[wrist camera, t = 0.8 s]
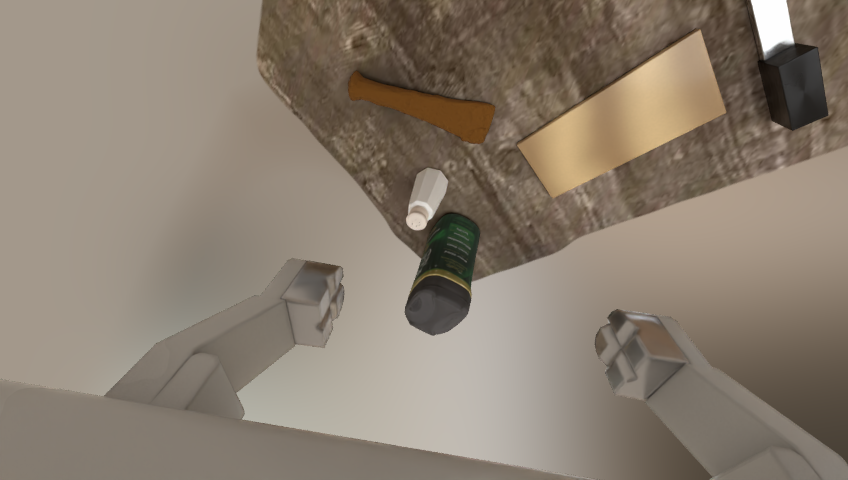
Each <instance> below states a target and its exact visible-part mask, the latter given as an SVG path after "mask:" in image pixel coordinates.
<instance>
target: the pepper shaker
mask: <svg viewBox="0 0 848 480" xmlns="http://www.w3.org/2000/svg"><path fill="white" fill-rule="evenodd" d="M447 184H448V180H447V179H446V177H445V176H444V174H443V173H442V172H441V170H437V169H432V168H428V167H427V168H426V169H424V170H423V171H421V172H419V173H418V174H417V176H416V180H415V184H414V187H413V191H412V195H411V198H410V202H409V208H408V214H409V215H408V216H407V218H406V222H407V225H408V226H409V227H410V228H412V229H414V230H422V229H424V228H425V227H426V225H427V221H428V220H430V219H432V217H433V215H434V214H435V212H436V210H437V208H438V206H439V204H440V202H441V200H442V199H443V197H444V195H445V193H446V189H447Z"/></svg>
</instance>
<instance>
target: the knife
mask: <svg viewBox="0 0 848 480" xmlns="http://www.w3.org/2000/svg"><path fill="white" fill-rule="evenodd" d="M746 3H747V8H748V12H749V16H750V20H751V24H752V28H753V32H754V36H755V41H756V45H757V49H758V53H759V57H760V60H759V61H758V65H759V70H760V74H761V78H762V82H763V86H764V90H765V94H766V98H767V102H768V106H769V110H770V114H771V118H772V121H773V122H775V123H778V124H780V125H782V126H784V127H786V128H788V129H790V130H792V131H793V130H795V129H798V128H800V127H802V126H805V125H807V124H809V123H812V122H814V121H816V120H819V119H821V118H823V117H826V116H828V109H827V103H826V97H825V90H824V84H823V78H822V71H821V65H820V59H819V52H818V47H814V46H809V45H803V44H798V43H795V42H794V37H793V31H792V26H791V21H790V16H789V10H788V5H787V0H746Z"/></svg>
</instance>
